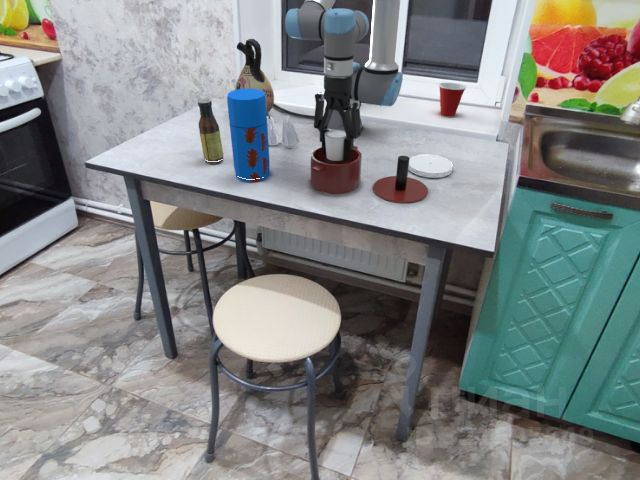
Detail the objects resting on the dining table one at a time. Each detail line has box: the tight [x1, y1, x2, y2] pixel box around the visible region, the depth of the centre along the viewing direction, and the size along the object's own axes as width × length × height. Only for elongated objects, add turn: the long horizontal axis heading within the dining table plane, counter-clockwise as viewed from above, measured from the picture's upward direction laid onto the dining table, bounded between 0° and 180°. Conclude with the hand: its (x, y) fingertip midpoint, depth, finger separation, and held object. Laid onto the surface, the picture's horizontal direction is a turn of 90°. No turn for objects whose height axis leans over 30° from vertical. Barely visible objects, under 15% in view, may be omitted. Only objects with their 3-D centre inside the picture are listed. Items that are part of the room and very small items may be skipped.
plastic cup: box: [438, 82, 467, 118], centre depth 190 cm, size 11×11×12 cm
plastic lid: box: [408, 153, 454, 179], centre depth 149 cm, size 14×14×2 cm
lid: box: [372, 155, 429, 204], centre depth 135 cm, size 16×16×11 cm
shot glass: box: [325, 130, 347, 161], centre depth 135 cm, size 7×7×7 cm
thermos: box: [226, 89, 271, 184], centre depth 140 cm, size 11×11×25 cm
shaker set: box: [267, 115, 301, 149], centre depth 163 cm, size 12×4×11 cm, turn 67°
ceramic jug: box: [234, 38, 275, 118], centre depth 181 cm, size 17×15×30 cm
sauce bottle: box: [197, 98, 224, 165], centre depth 149 cm, size 6×6×20 cm
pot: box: [310, 145, 363, 195], centre depth 140 cm, size 15×20×10 cm
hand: (336, 156), depth 137 cm, fingers closed on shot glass, 7 cm apart
